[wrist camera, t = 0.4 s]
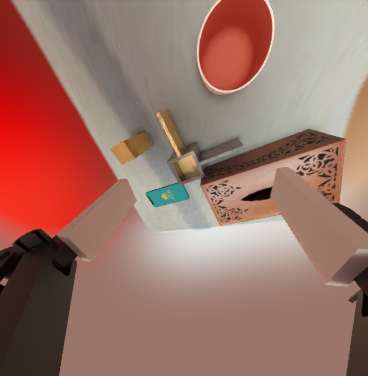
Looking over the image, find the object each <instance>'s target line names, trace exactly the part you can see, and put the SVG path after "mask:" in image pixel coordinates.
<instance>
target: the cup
mask: <svg viewBox="0 0 368 376" xmlns="http://www.w3.org/2000/svg"><path fill="white" fill-rule="evenodd" d="M274 32H275V22H274V15H273V11H272V8H271V5H270V3H269V1H268V0H217V2H216V3H215V4H214V5H213V6H212V8H211V9H210V11H209V12H208V14H207V16H206V17H205V20H204V22H203V24H202V27H201V30H200V33H199V37H198V42H197V63H198V68H199V71H200V74H201V77H202V80H203V82H204V84H205V86H206V87H207V88H208V89H209V90H210V91H211V92H212V93H214V94H217V95H228V94H231V93H233V92H236V91H238V90H241V89H242V88H244V87H246V86H247V85H248V84H250V83H251V82H252V81H253V80H254V79H255V78H256V77H257V76H258V74H259V73H260V72H261V70H262V69H263V67H264V65H265V63H266V61H267V59H268V57H269V55H270V52H271V49H272V45H273V40H274Z"/></svg>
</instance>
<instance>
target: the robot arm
mask: <svg viewBox="0 0 368 376" xmlns="http://www.w3.org/2000/svg"><path fill="white" fill-rule="evenodd" d="M270 197H271V199H272V200H273V202H274V204H275V205H276V207H277V208H278V210H279V211H280V213H281V215H282V216H283V218H284V219H285V221H286V223H287V224H288V226H289V227H290V229H291V230H292V232H293V234H294V235H295V237H296V238H297V240H298V242H299V243H300V245H301V246H302V248H303V250H304V251H305V253H306V254H307V256H308V257H309V259H310V261H311V262H312V264H313V265H314V267H315V269H316V270H317V272H318V273H319V275H320V277H321V278H322V280H323V281H324V283H325V284H326V285H336V286H348V285H349V284H350V283H351V282H352V281H353V280H354V281H355V282H356V283H357V284H358V286H359V287H360V288H361V290H359V291H358V292H357V293H355V294H354V295H353V296H351V297H350V299H349V301H350V302H352V303H353V302H354V301H356V300H357V302H356V309H355V316H354V324H353V331H352V338H351V346H350V353H349V360H348V368H347V375H346V376H368V222H367V221H366V220H364V219H362V218H361V217H360V216H359V215H358V214H356V213H355V212H354V211H353V210H351V209H349V208H347V207H345V206H343V205H341V204H339V203H331V202H330V201H328V200H327V199H326V198H325V197H324V196H323V195H321V194H320V193H319V192H318V191H317V190H315V189H314V188H313V187H312V186H311V185H309V184H308V183H307V182H306V181H305V180H303V179H302V178H301V177H300V176H299V175H297V174H296V173H295V172H294V171H293V170H292V169H290V168H289V167H281V168H277V170H276V174H275V178H274V183H273V187H272V191H271V196H270ZM136 201H137V200H136V198H135V196H134V194H133V191H132V189H131V187H130V185H129V182H128V180H127V179H120V180H119V181H118V182H116V183H115V184H114V185H113V186H112V187H111V188H110V189H109V190H107V191H106V192H105V193H104V194H103V195H101V196H100V197H99V198H98V199H97V200H96V201H95V202H93V203H92V204H91V205H90V206H89V207H88V208H86V209H85V210H84V211H83V212H82V213H81V214H80V215H78V216H77V217H76V218H75V219H74V220H73V221H72V222H70V223H69V224H68V225H67V226H66V227H65V228H63V229H62V230H61V231H60V232H59V233H58V234H57V235H56V236H55V237H54V238H51V237H50V236H49V235H47V234H46V233H45V232H44V231H43V230H42V229H36V230H33V231H30V232H28V233H26V234H25V235H23V236H21V237H20V238H19V239H17V240H16V241H15V242H14V243H13V244H12V245H14V246H12V247H9V248H6V249H4V250H2V251H0V281H1V280H2V279H3V278H6V279H8V282H7V284H6V285H5V286H3V285H1V284H0V376H59V372H60V366H61V359H62V353H63V347H64V340H65V334H66V328H67V321H68V316H69V310H70V303H71V297H72V291H73V285H74V279H75V272H76V266H77V261H76V260H75V258H76V257H77V256H79V257H80V258H81V259H82V260H84V261H92V260H93V259H94V257H95V256H96V255H97V253H98V252H99V251H100V249H101V248H102V246H103V245H104V244H105V243H106V241H107V240H108V239H109V237H110V236H111V235H112V233H113V232H114V230H115V229H116V228H117V226H118V225H119V224H120V222H121V221H122V220H123V218H124V217H125V216H126V214H127V213H128V211H129V210H130V209H131V208H132V206H133V205H134V203H135V202H136Z"/></svg>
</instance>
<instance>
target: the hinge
mask: <svg viewBox="0 0 368 376" xmlns="http://www.w3.org/2000/svg"><path fill="white" fill-rule="evenodd" d="M156 115H157V117H158V119H159V121H160V123H161V125H162V127H163V129H164V131H165V132H166V134H167V136H168V138H169V140H170V142H171V144H172V146H173V148H174V150H175V152H174V153H173V154H172V155H171V157H170V158H169V160H168V161H167V163H168V165H169V167H170V168H171V170H172V172H173V174H174V175H175V177H176V179H177V181H178V183H179V184H180V185H182V184H185V183H188V182H191V181H194V180H197V179H200V178H203V177H205V172H206V163H209V162H211V161H214V160H217V159H219V158H222V157H224V156H227V155H230V154H232V153H235V152H238V151H240V150H243V149H244V145H243V144H242V143H241V141H240V140H239V139H238V138H236V139H234V140H231V141H229V142H226V143H224V144H222V145H219V146H217V147H214V148H212V149H209V150H207V151H205V152H202V153H201V152H200V150H199V148H198V145H197V143H194V144H192V145H189V146H187V147H185V145H184V142H183V140H182V138H181V136H180V134H179V132H178V130H177V128H176V125H175V123H174V121H173V119H172V117H171V115H170V113H169V110H163V111H159V112H157V113H156Z"/></svg>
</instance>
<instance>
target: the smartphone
mask: <svg viewBox="0 0 368 376" xmlns="http://www.w3.org/2000/svg"><path fill="white" fill-rule="evenodd" d="M146 196H147V197H148V199H149V200H150V201H151V203H152V204H153V206H154V207H159V206H163V205H167V204H170V203H174V202H178V201H182V200H186V199H189V196H188V194H187V192H186V190H185V188H184V186H183V184H182V185H180V184H179V183H175V184H172V185H169V186H166V187H162V188H159V189H155V190H153V191H149V192H147V193H146Z"/></svg>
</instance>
